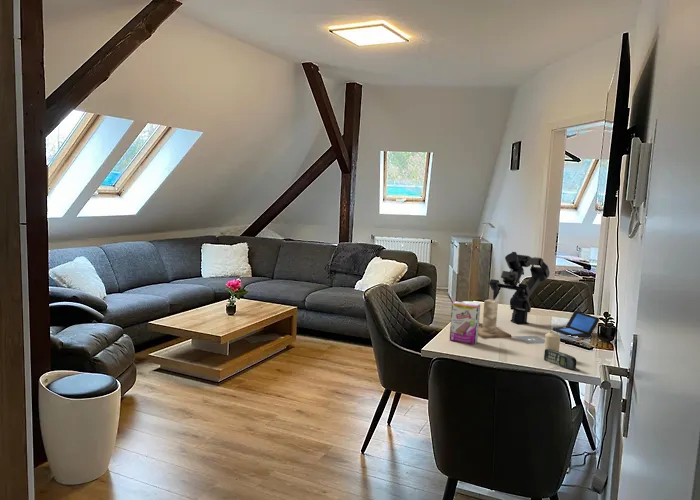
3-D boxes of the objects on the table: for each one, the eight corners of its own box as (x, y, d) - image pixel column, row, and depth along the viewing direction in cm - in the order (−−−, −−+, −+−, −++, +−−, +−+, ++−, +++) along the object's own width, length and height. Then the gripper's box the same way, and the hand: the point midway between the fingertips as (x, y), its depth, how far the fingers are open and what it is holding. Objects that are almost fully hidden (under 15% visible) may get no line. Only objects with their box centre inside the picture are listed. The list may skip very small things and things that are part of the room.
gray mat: (536, 336, 242) (536, 335, 242) (552, 343, 230) (552, 343, 230) (512, 336, 239) (512, 336, 239) (527, 344, 227) (527, 343, 227)
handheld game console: (551, 330, 255) (552, 311, 254) (573, 329, 259) (574, 310, 258) (575, 339, 240) (577, 319, 239) (598, 337, 245) (600, 317, 244)
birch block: (495, 331, 242) (497, 301, 241) (491, 333, 239) (493, 302, 237) (486, 329, 245) (488, 299, 243) (482, 331, 241) (484, 300, 240)
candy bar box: (449, 340, 227) (451, 302, 226) (452, 338, 232) (454, 301, 230) (475, 344, 223) (478, 306, 221) (477, 342, 227) (480, 304, 225)
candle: (541, 354, 213) (543, 329, 212) (554, 354, 213) (556, 330, 212) (547, 358, 207) (549, 333, 206) (561, 358, 208) (563, 333, 207)
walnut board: (495, 329, 251) (495, 327, 250) (511, 337, 237) (511, 334, 237) (468, 330, 247) (468, 327, 247) (482, 338, 234) (482, 335, 234)
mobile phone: (543, 348, 205) (576, 358, 192) (548, 347, 206) (582, 357, 193) (542, 361, 205) (575, 372, 192) (548, 360, 207) (581, 371, 194)
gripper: (492, 262, 258) (479, 287, 251) (529, 267, 246) (517, 293, 239) (498, 277, 265) (486, 301, 258) (534, 282, 253) (523, 308, 246)
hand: (502, 300), depth 250 cm, fingers open, 9 cm apart
